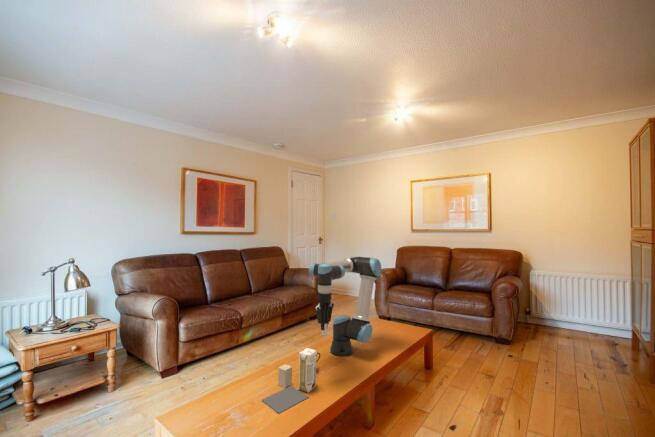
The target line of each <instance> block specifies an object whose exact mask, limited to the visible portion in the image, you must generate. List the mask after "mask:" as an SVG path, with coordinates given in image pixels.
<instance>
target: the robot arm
mask: <svg viewBox="0 0 655 437" xmlns="http://www.w3.org/2000/svg"><path fill="white" fill-rule="evenodd" d="M346 273H354V274H359V277H360V284H359V290H358V295H357V303H356V308H355V315H354V316H350V315H339V316H335V317H334V318H333V321H332V341H331V345H330V347H329V350H330V353H331V354H332V355H333V356H338V357H347V356H350V355H351V356H352V355H353V352H354V347H353V345H352V341H351V340H353V341H356V342H359V343H367V342H368V341H369V340H370V339H371V337H372V334H373V331H374V330H373V326H372V324H371V320H370V318H369V316H370V309H371V302H372V294H373V290H374V284H375V281H376V280H377V279H378V278H377V277H379V276H381V274H382V263H381V262H380V260H379V259H378V258H376V257H373V256H372V257H369V256H368V257H366V256H354V257H348V258H344V259H343V260H337V261H330V262H324V263H311V264H310V265H309V266H308V274H309V275H310V276H312V277H317V280H318V281H317V292H318V293H317V300H318V303H317V306H314V310H315V313H316V318H317V319H316V320H317V323H318V324H320V330H321V336H322V337H328V325H329V324H330V322H331V320H332V316H333V315H332V314H333V308H334V306H335V303H332V292H333V291H332V289H333V288H332V287H333V286H332V284H333V283H332V281H334V280H339V279H342V278H344V277H345V274H346ZM351 317H352V318H351Z"/></svg>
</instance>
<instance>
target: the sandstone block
mask: <svg viewBox="0 0 655 437" xmlns="http://www.w3.org/2000/svg"><path fill="white" fill-rule="evenodd" d="M292 373H293V366H292V365H289V364H285V363H284V364H283V365H281V366H279V367H278V377H277V378H278V379H277V380H278V383H277V384H278V386H280V387H283V389H285V388H288V387H290V386H292V385H293V377H292V376H293V374H292Z"/></svg>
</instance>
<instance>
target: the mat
mask: <svg viewBox="0 0 655 437" xmlns="http://www.w3.org/2000/svg"><path fill="white" fill-rule="evenodd" d="M309 398H310V396H309V395H307V394H305V393H303V391H302V390H299V389H298V388H296V387H294V386H293V385H289V386H288V387H286V388H283V389H281V390H279V391H277V392H275V393H273V394H271V395H269V396H266V397H264V398H262V399H261V401H262V402H263V403H264V404H265V405H267V406H268V407H269V408H271V409H272V410H273V411H275V413H277V414H278V415H279V414H281V413H283V412H285V411H287V410H289V409H291V408H292V407H294V406H296V405H298V404H300V403H302V402H304V401H306V400H307V399H309Z"/></svg>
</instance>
